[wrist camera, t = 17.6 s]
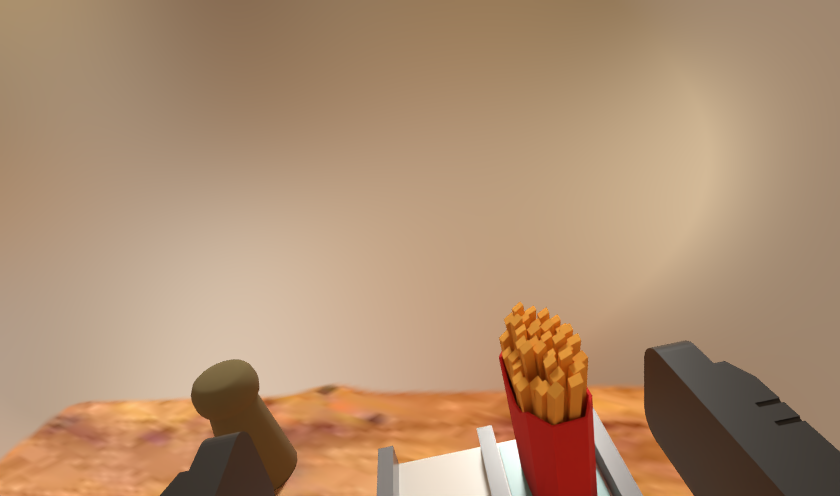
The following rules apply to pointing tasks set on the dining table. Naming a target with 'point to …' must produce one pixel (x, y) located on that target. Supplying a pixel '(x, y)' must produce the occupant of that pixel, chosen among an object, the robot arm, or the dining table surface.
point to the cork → (243, 414)
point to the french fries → (549, 403)
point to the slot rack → (491, 470)
